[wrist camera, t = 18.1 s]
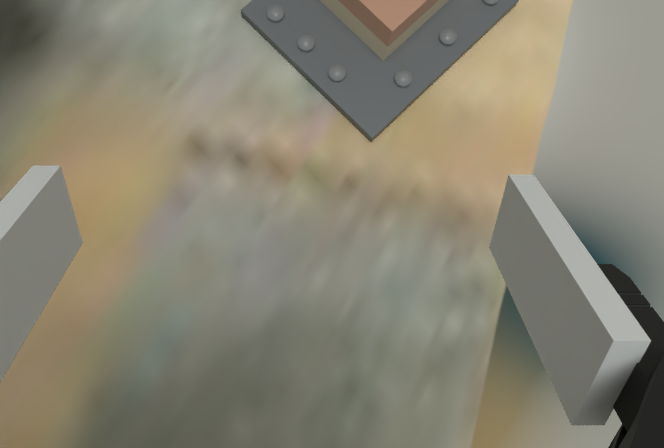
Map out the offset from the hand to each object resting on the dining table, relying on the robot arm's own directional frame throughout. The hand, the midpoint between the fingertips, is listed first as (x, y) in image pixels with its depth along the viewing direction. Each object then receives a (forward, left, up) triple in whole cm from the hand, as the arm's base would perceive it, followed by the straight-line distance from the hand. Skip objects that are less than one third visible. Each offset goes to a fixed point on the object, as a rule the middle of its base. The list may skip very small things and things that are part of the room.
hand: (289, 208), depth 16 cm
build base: (-13, +23, -30) cm, 40 cm away
